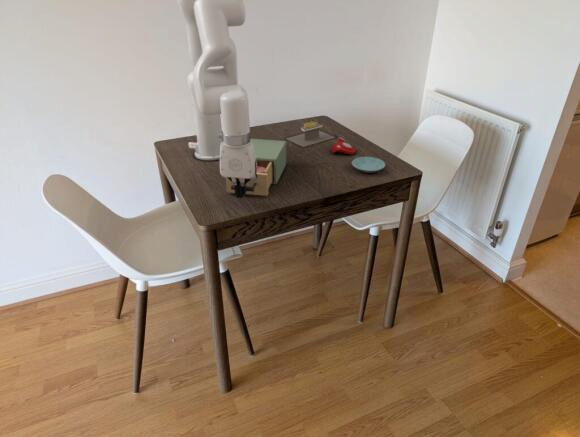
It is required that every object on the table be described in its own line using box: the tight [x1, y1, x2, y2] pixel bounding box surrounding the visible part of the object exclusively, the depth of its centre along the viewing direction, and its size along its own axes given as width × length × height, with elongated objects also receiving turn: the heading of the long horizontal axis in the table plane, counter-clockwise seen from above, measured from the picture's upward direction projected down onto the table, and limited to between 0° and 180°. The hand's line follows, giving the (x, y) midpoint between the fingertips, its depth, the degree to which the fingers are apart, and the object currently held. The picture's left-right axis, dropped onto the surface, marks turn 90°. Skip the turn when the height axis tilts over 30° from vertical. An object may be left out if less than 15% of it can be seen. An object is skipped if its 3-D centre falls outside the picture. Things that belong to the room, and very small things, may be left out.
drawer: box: [225, 160, 274, 197], centre depth 138 cm, size 20×13×7 cm, turn 169°
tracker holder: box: [330, 136, 356, 155], centre depth 167 cm, size 12×4×10 cm
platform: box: [285, 121, 336, 148], centre depth 178 cm, size 12×18×7 cm, turn 128°
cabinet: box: [250, 138, 287, 185], centre depth 149 cm, size 17×15×9 cm
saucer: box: [351, 156, 386, 174], centre depth 153 cm, size 12×12×2 cm
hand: (240, 195), depth 128 cm, fingers closed
